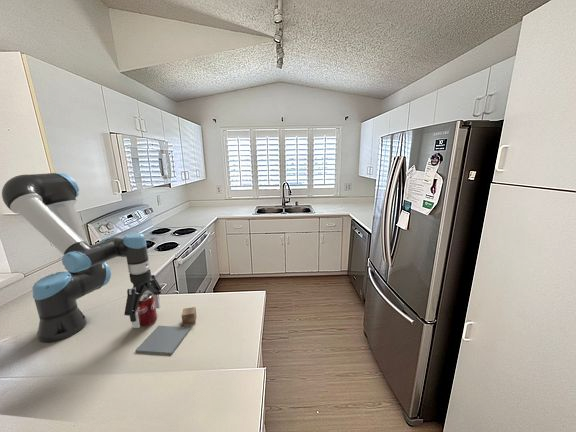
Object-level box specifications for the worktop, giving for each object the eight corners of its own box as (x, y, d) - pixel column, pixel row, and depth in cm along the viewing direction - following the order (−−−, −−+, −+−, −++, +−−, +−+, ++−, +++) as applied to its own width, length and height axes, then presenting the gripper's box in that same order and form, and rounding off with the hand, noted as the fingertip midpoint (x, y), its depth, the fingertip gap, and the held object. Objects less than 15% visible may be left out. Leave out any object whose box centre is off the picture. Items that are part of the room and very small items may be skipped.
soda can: (153, 314, 114) (149, 290, 111) (160, 321, 109) (156, 295, 107) (135, 322, 108) (131, 297, 106) (142, 329, 104) (138, 303, 101)
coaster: (135, 352, 92) (135, 350, 91) (158, 327, 105) (158, 325, 105) (171, 354, 90) (171, 352, 90) (190, 329, 104) (190, 327, 103)
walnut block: (182, 325, 106) (181, 315, 105) (184, 318, 111) (183, 308, 109) (195, 323, 107) (194, 313, 106) (196, 317, 112) (195, 306, 111)
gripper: (126, 286, 91) (135, 337, 96) (166, 259, 115) (171, 301, 120) (107, 285, 92) (116, 336, 97) (150, 259, 116) (156, 300, 121)
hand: (147, 317), depth 108 cm, fingers open, 13 cm apart
